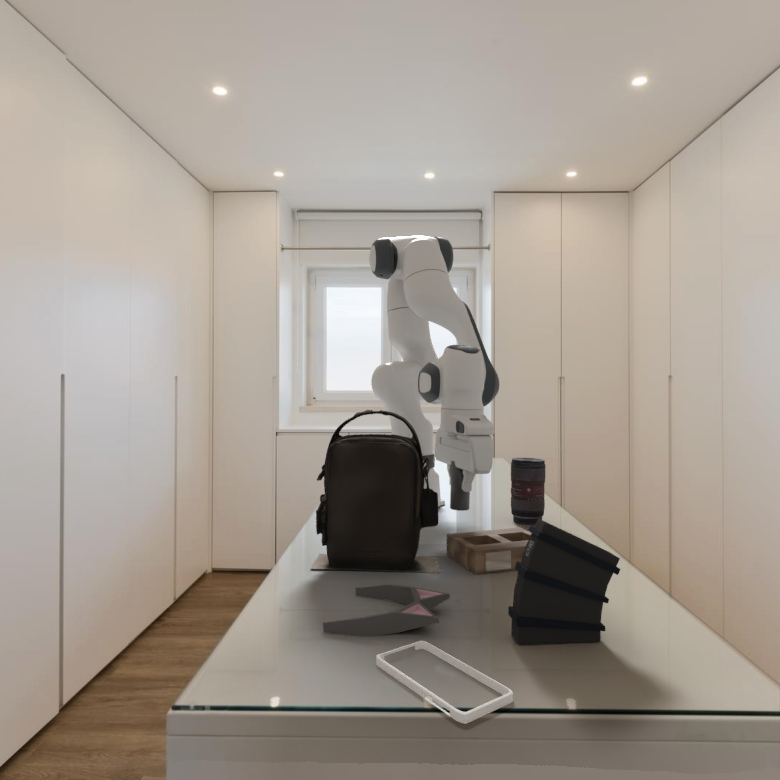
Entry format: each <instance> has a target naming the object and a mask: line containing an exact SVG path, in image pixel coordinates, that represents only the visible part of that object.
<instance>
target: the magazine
mask: <svg viewBox="0 0 780 780" xmlns="http://www.w3.org/2000/svg"><path fill="white" fill-rule="evenodd" d="M527 531H529V532H531V536H530V538H529V540H528V542H527V544H526V546H525V550H524V553H523V557H522V561H521V562H519V561H517V563H516V566H515V569H516V571H517V576H516V581H515V585H514V590H513V600H512V606H511V605H509V606H508V608H507V611H508V612H507V614H508V616H509V618H510V619H511V637H512V638H513V639H514V641H515V642H516V643H517V645H520V646H521V645H522V646H523V645H524V646H525V645H526V646H527V645H547V644H548V645H551V644H552V645H554V644H575V643H577V644H578V643H579V644H581V643H600V642H601V639H602V638H601V633H602V632H605V631H606V625H605V624H603V623H602V613H603V605H604V603H605V604H609V602H610V599H609V597H607V596H606V594H607V589H608V585H609V583H610V581H611V579H612V577H613V575H614V574H615V575H617V576H619V573H620V572H621V568H619V567H618V564H619V561H620V559H621V558H620V557H619V556H616V555H615V554H613V553H612V552H610V551H608V550H606V549H603V548H602V547H600V546H598V545H595V544H593V543H591V542H590V541H587V540H585V539H582V538H581V537H578V536H576V535H574V534H572V533H569V532H568V531H566V530H563V529H561V528H559V527H557V526H555V525H553V524H551V523H548V522H547V521H544V520H543V519H542V520H541V519H538V521H537V523H536V524H529V528H528V530H527Z"/></svg>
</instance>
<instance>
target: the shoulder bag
mask: <svg viewBox="0 0 780 780" xmlns="http://www.w3.org/2000/svg"><path fill="white" fill-rule="evenodd" d="M374 414H375V415H377V414H379V415H383V416H389V415H390V416H393V417H395V418H397V419H399V420H401V421H403V422H404V423H405V424H406V425H407V427H408V428H409V429H410V431H411V433H412V434H413V436H412V438H409V437H403V436H399V435H393V434H392V433H391V434H386V433H385V434H381V433H379V434H378V433H369V434H365V433H364V434H347V435H340V433H341V431H342V430H343V428H345V426H346V425H347V424H349V423H351V422H352V421H354V420H356V419H357V418H360V417H362V416H367V415H368V416H369V415H374ZM427 459H428V461H427ZM426 461H427V464H426V466H425V467H424V464H425V463H426ZM429 462H430V457H427V458H426V459H425V461H424V462H423V457H422V452H421V447H420V443H419V439H418V436H417V434H416V432H415V430H414V428H413V427H412V425H411V424H410V423H409V422H408V421H407V420H406V419H405V418H403V417H402V416H399V415H398V414H396V413H393V412H389V411H387V410H381V409H380V410H373V409H366V410H364V411H358V412H356V413H354V415H353V416H352V417H350V418H348V419H346V420H344V421H343V422H342V423H341V424H340V425H338V427H337V428H336V429H335V431H334V432H333V434H332V436H331V438H330V441H329V443H328V447H327V449H326V455H325V459H324V464H323V465H322V466H321V472H320V473H318V475H317V478H316V481H318V482H319V481H322V480H323V486H324V493H323V494H320V496H319V501H320V503H319V504H318V507H317V509H315V514H316V516H315V523H316V524H315V529H316V530H315V531H316V535H319V534H320V535H321V545H322V546H323V547H325V549H326V553H319V555H318V556H317V558H316V559H315V561H314V562H313V564H312V565H311V567H310V569H311V570H334V571H335V570H336V571H338V570H339V571H363V572H364V571H368V572H370V571H371V572H373V571H374V572H400V573H401V572H403V573H428V574H429V573H431V574H437V573H440V572H441V569H440V562H439V558H438V557H436V556H435V557H434V556H417V553H418V550H419V545H420V537H421V535H420V534H421V530H422V529H424V528H429V527H431V528H433V527H437V526H439V525H438V524H439V507H438V493H437V492H434V491H433V490H432V489H429V483H428V482H429V481H428V471H427V467H428V465H429ZM425 475H426V476H425ZM426 477H427V479H426ZM323 478H324V479H323ZM424 478H425V481H426V484H427V488H426V489H424Z"/></svg>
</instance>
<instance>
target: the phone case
mask: <svg viewBox="0 0 780 780" xmlns="http://www.w3.org/2000/svg"><path fill="white" fill-rule="evenodd" d="M411 647H414V650H415V651H418V650H424V651H428V652H429V653H431V654H432V655H434V656H436V657H437V658H439V659H441V660H442V661H445V662H446V663H448V664H449V665H452V666H453V667H454V668H456V669H458V670H460V671H462V672H464V674H466V675H468V676H470V677H472V678H473V679H475V680H476V681H478V682H480V683H482V684H483V685H485V686H487V687H489V688H490V689H493V690H494V691H495V692H497V693H499V694H501V696H499V697H495V698H493V699H492V700H489V701H487V702H485V703H482V704H481V705H479V706H475V707H474V708H472V709H469V710H467V711H462V710H460V709H458V708H456V707H455V706H453V705H451V704H450V703H449V702H447V701H445V699H443V698H441V697H439V696H438V695H437V694H436V693H434V692H432V691H431V690H429V689H428V688H426V687H424V686H423V685H421V684H420V683H419V682H417V681H416V680H414V679H413V678H412V677H410V676H408V675H407V674H406V673H404V672H402V671H401V670H400V669H398V668H396V667H395V666H393V665H392V664H390V662H387V661H386V660H385V656H389V655H391V654H394V653H397V652H401V651H403V650H406V649H409V648H411ZM375 657H376V658H375V659H376V660H375V661H376V666H377V667H379V668H380V669H381V670H383V671H384V672H386V673H387V674H389V675H390V676H391V677H393V678H394V679H395V680H397V681H398V682H400V683H402V684H403V685H404V686H406V687H408V688H409V689H410V690H412V691H413V692H414V693H416V694H417V695H418V696H420V697H421V698H422V699H424V700H426V702H429V703H430V704H432V706H434V707H436V708H437V709H438V710H440V711H441V712H443V713H444V714H446V715H447V716H448V717H450V718H452V720H454V721H456V722H458V723H460V724H466V725H467V724H468V723H471V722H474V721H476V720H477V719H480V718H481V717H484V716H487V715H488V714H490V713H493V712H494V711H495V712H496V711H497V710H498V709H501V708H503V707H505V706H507V705H510V704H511V703H512V704H513V702H514V693H513V690H511V688H509V687H508V686H506V685H504V684H503V683H500V682H499V681H497V680H495V679H493V677H490V676H488V675H487V674H484V673H483V672H481V671H480V670H478V669H475V668H474V667H473V666H471V665H469V664H467V663H465V662H463V661H462V660H460V659H458V658H456V657H454V656H453V655H451V654H449V653H447V652H446V651H445V650H442V649H441V648H438V647H437V646H436V645H433V644H432V643H429V642H427V641H426V640H417V641H415V642H413V643H409V644H406V645H403V646H400V647H397V648H393V649H390V650H388V651H385V652H382V653H379V654H376V656H375ZM427 697H429V698H430V699H431V700H430V699H429V698H427ZM433 701H435V702H436V703H437V704H438V705H437V704H436V703H435V702H433ZM439 705H440V706H439ZM441 706H442V707H443V708H444V709H443V708H442V707H441ZM448 711H449V712H448Z"/></svg>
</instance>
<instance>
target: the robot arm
mask: <svg viewBox="0 0 780 780" xmlns="http://www.w3.org/2000/svg"><path fill="white" fill-rule="evenodd" d="M368 262H369V263H368V264H369V267H370V269H371V272H372V274H373V275H374V276H375V277H376V278H379V279H381V280H388V284H387V292H386V293H387V294H386V315H387V330H388V331H387V332H388V339H389V342H390V344H391V345H392V347H394V348H395V349H396V350H397V351H398V353H399V355H400V357H401V358H402V359H401V360H402V361H399V360H396V361H395V360H394V361H390V362H385V363H382V364H379V365H378V366H376V368H375V369H374V371H373V373H372V375H371V379H370V380H371V381H370V382H371V384H370V385H371V389H372V391H373V394H374V395H375V397H377V398H378V399H379V400H380V402H381V403H382V404H383V406H384V408H385V409H386V410H385V411H389V412H393V413H396V414H398V415H399V416H402V417H403V418H405V419H406V420H407V421H408V422H409V423H410V424H411V425H412V427H413V428H414V430H415V432H416V434H417V436H418V439H419V443H420V447H421V452H422V457H423V462H424V461H425V459H426V458H427V457H430V462H429V465H428V467H427V471H428V481H429V482H428V483H429V489H432V490H433V491H434V492H437V493H438V508H439V507H440V506H444V505H446V502H445V501H446V500H445V499H442V498H441V486H440V476H439V473H438V472H436V471H435V469H434V468H435V466H436V465H435V463H436V461H438V462H441V463H443V464H446V468H447V469H446V470H447V474H448V477H449V486H451V461H454V462H455V466H456V467H457V468H460V469H462V470H463V475H464V478H463V482H461V490H462V491H464V492H470V493H471V491H472V488H473V487H472V486H473V485H472V484H473V482H474V479H475V477H476V475H488V474H490V472H491V470H492V468H493V463H494V462H493V459H494V439H493V437H492V436H493V435H494V434H495V433H496V427H495V425H494V423H493V422H492V421H491V420H490V419H489V418H488V417H487V416H486V415H485V414H484V410H485V409H484V407H486V406H487V405H489V404H490V403H491V402H493V400H494V399H495V398H496V396H497V394H498V393H499V391H500V378H499V375H498V373H497V371H496V369H495V367H494V365H493V364H492V362H491V360H490V358H489V356H488V353H487V350H486V348H485V345H484V342H483V340H482V337H481V334H480V332H479V330H478V326H477V324H476V322H475V319H474V316H473V313H472V312H471V310H470V308H469V306H468V304H466V302H464V301H463V300H462V299H461V298H460V297H459V295H458V294H457V293H456V291H455V290H454V288H453V286H452V283H451V281H450V276H449V273H450V272H451V270H452V268H453V264H454V249H453V246H452V243H451V242H450V240H449V239H447V238H445V237H440V236H434V237H433V236H426V235H410V236H396V237H388V236H386V237H381V238H377V239H375V240H374V242H373V243H372V244H371V248H370V250H369V256H368ZM429 322H431V323H434V324H436V325H438V326H440V327H442V328H444V329H445V330H447V331H448V332H450V333H451V334H452V336H454V338H455V339H456V341H457V344H452V345H448V346H446V347H445V348H444V350H443V353H442V355H441V356H440V357H439V358H438V356H437V353H436V351H435V348H434V346H433V343H432V339H431V334H430V331H431V330H430V324H429ZM421 403H429V404H432V405H440V406H441V407H440V423H439V424H440V425H439V428H437V430H436V434H435V444H434V427H433V424H432V422H431V421H430V420H429V419H427V418H426V416H425V415H424V413H423V412H424V411H423V410H422V405H421ZM388 417H389V418H388V419H389V423H390V426H391V429H390V430H391V434H393V435H399V436H403V437H409V438H412V436H413V434H412V433H411V431H410V429H409V428H408V427H407V425H406V424H405V423H404V422H403V421H401V420H399V419H397V418H395V417H393V416H390V415H388ZM427 461H428V459H427ZM427 461H426V463H425V464H424V467H425V466H426V464H427ZM425 476H426V475H425ZM426 479H427V477H426ZM426 488H427V484H426V481H425V478H424V489H426Z"/></svg>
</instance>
